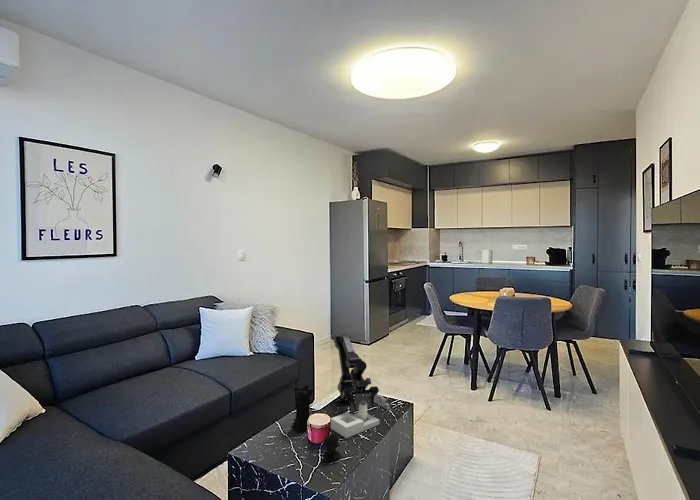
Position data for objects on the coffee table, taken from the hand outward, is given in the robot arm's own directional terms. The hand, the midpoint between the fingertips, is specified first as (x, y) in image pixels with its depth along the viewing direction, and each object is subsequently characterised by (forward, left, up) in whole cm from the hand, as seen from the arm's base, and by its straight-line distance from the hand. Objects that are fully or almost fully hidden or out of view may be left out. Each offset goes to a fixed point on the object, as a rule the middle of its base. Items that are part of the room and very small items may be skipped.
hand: (363, 408), depth 194 cm
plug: (-1, +1, -8) cm, 8 cm away
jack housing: (-1, -4, -8) cm, 9 cm away
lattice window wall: (-10, +24, -8) cm, 27 cm away
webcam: (+13, -30, -8) cm, 34 cm away
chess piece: (-15, -26, -8) cm, 32 cm away
